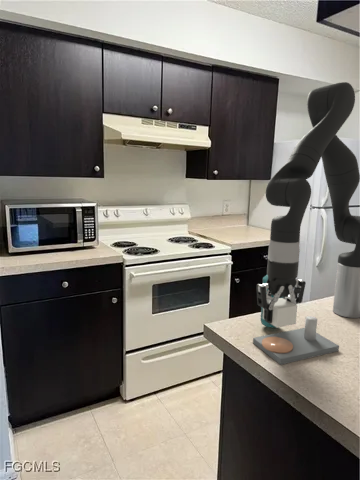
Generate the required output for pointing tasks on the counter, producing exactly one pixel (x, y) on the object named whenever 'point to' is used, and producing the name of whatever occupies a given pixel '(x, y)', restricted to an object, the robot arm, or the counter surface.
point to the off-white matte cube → (283, 313)
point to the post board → (300, 343)
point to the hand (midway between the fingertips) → (278, 320)
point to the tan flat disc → (277, 344)
